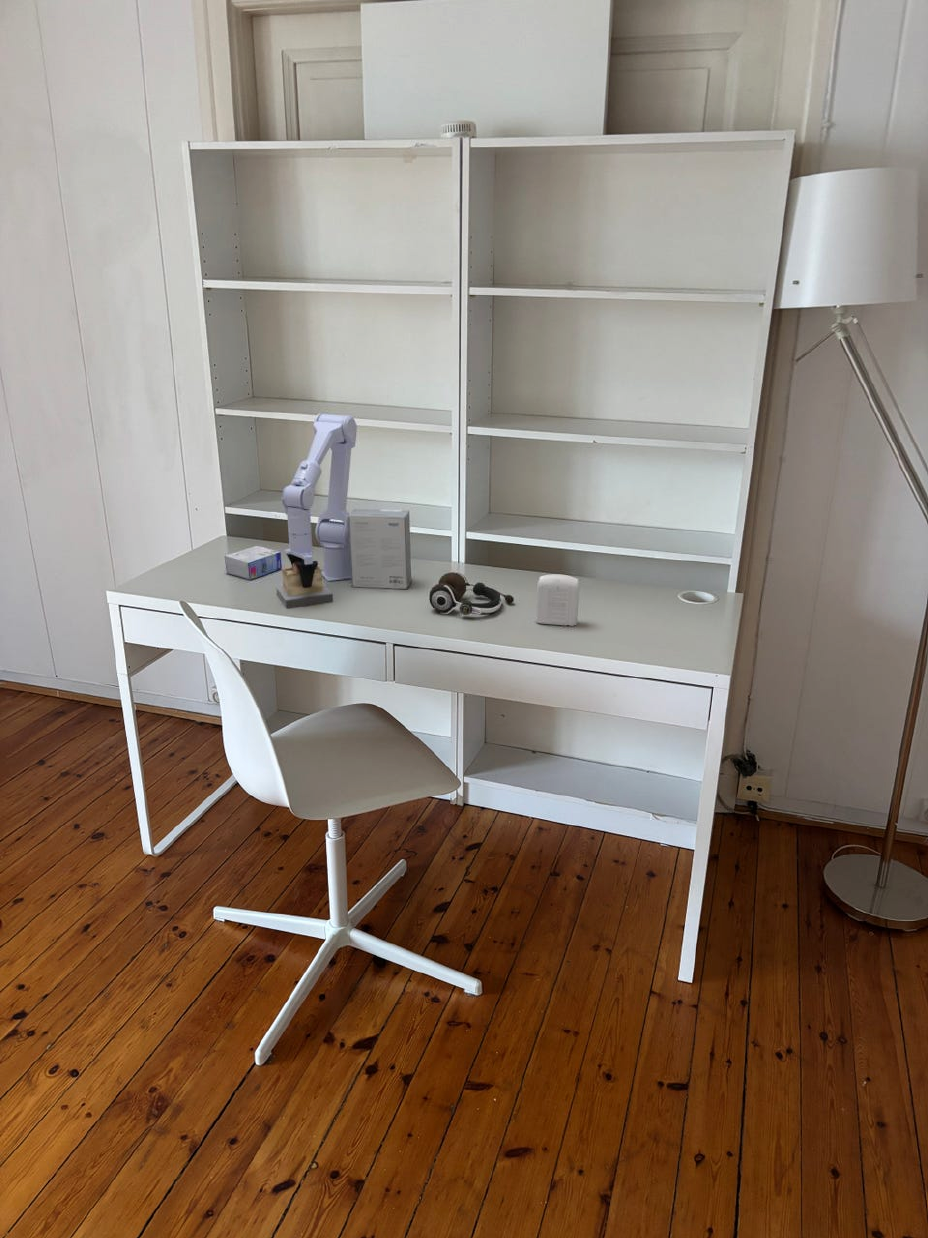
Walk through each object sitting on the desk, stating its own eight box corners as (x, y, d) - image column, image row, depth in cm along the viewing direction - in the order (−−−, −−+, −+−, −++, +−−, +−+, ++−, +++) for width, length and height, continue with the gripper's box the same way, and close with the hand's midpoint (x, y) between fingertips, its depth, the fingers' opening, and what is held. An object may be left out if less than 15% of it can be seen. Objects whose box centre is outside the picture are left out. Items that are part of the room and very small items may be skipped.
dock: (321, 588, 241) (320, 581, 240) (332, 601, 232) (332, 594, 231) (276, 594, 236) (276, 587, 236) (287, 608, 227) (286, 601, 227)
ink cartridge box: (250, 581, 246) (288, 566, 257) (248, 562, 244) (287, 548, 255) (226, 574, 251) (264, 559, 262) (224, 555, 249) (262, 541, 260)
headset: (445, 563, 236) (519, 581, 233) (441, 590, 239) (514, 608, 236) (427, 585, 221) (506, 604, 217) (423, 613, 224) (500, 632, 220)
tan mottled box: (317, 584, 238) (316, 564, 235) (322, 591, 233) (321, 570, 231) (283, 589, 234) (282, 568, 232) (288, 596, 230) (287, 574, 228)
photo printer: (577, 620, 221) (580, 573, 216) (577, 627, 217) (580, 579, 213) (536, 618, 223) (537, 570, 218) (534, 624, 219) (536, 576, 214)
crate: (306, 568, 234) (305, 561, 233) (309, 572, 231) (309, 565, 230) (293, 570, 232) (292, 563, 232) (296, 574, 229) (296, 567, 229)
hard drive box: (412, 580, 247) (410, 509, 240) (407, 590, 240) (406, 517, 233) (356, 577, 249) (353, 507, 241) (350, 587, 242) (347, 515, 234)
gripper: (277, 526, 232) (281, 576, 238) (291, 541, 220) (295, 593, 225) (304, 523, 235) (307, 572, 240) (319, 538, 223) (322, 590, 228)
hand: (303, 582), depth 233 cm, fingers open, 7 cm apart
